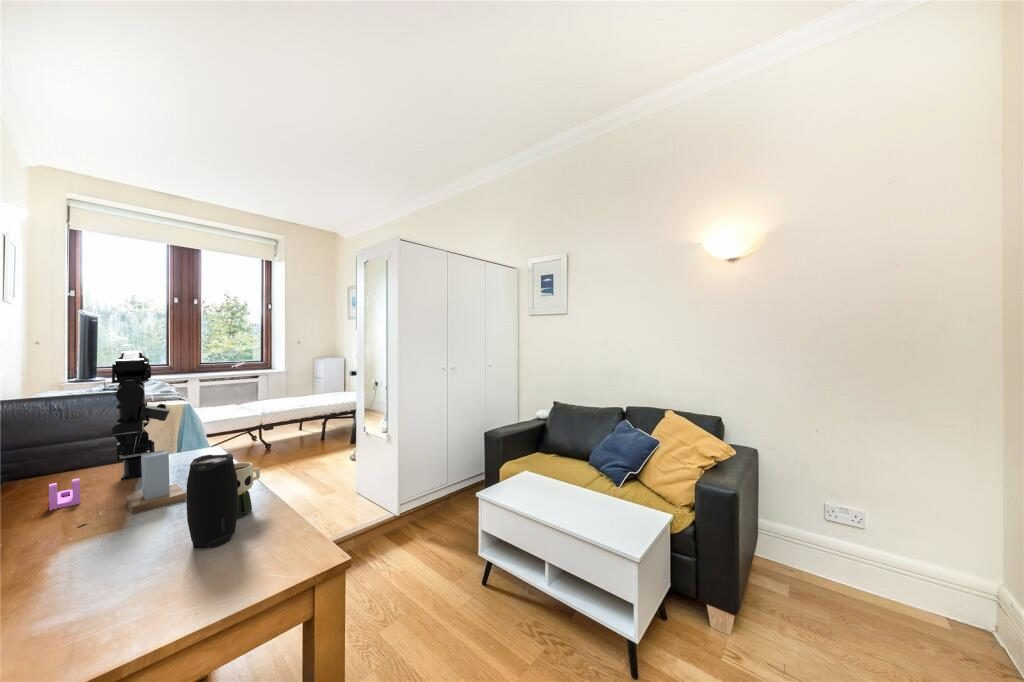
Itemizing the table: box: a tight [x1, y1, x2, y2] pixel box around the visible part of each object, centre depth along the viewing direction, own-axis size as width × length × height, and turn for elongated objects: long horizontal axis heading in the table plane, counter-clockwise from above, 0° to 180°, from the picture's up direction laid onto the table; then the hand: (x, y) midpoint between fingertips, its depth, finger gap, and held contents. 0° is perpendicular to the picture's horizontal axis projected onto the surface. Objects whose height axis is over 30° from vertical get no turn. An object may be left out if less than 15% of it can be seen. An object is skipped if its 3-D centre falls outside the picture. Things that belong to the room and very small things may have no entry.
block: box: [141, 449, 171, 500], centre depth 108 cm, size 5×5×12 cm
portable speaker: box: [185, 453, 238, 549], centre depth 87 cm, size 9×9×20 cm
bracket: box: [48, 478, 81, 511], centre depth 109 cm, size 13×6×7 cm, turn 50°
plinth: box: [125, 483, 186, 515], centre depth 108 cm, size 11×11×2 cm
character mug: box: [234, 461, 261, 518], centre depth 100 cm, size 11×7×13 cm, turn 146°
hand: (133, 450), depth 114 cm, fingers open, 9 cm apart
